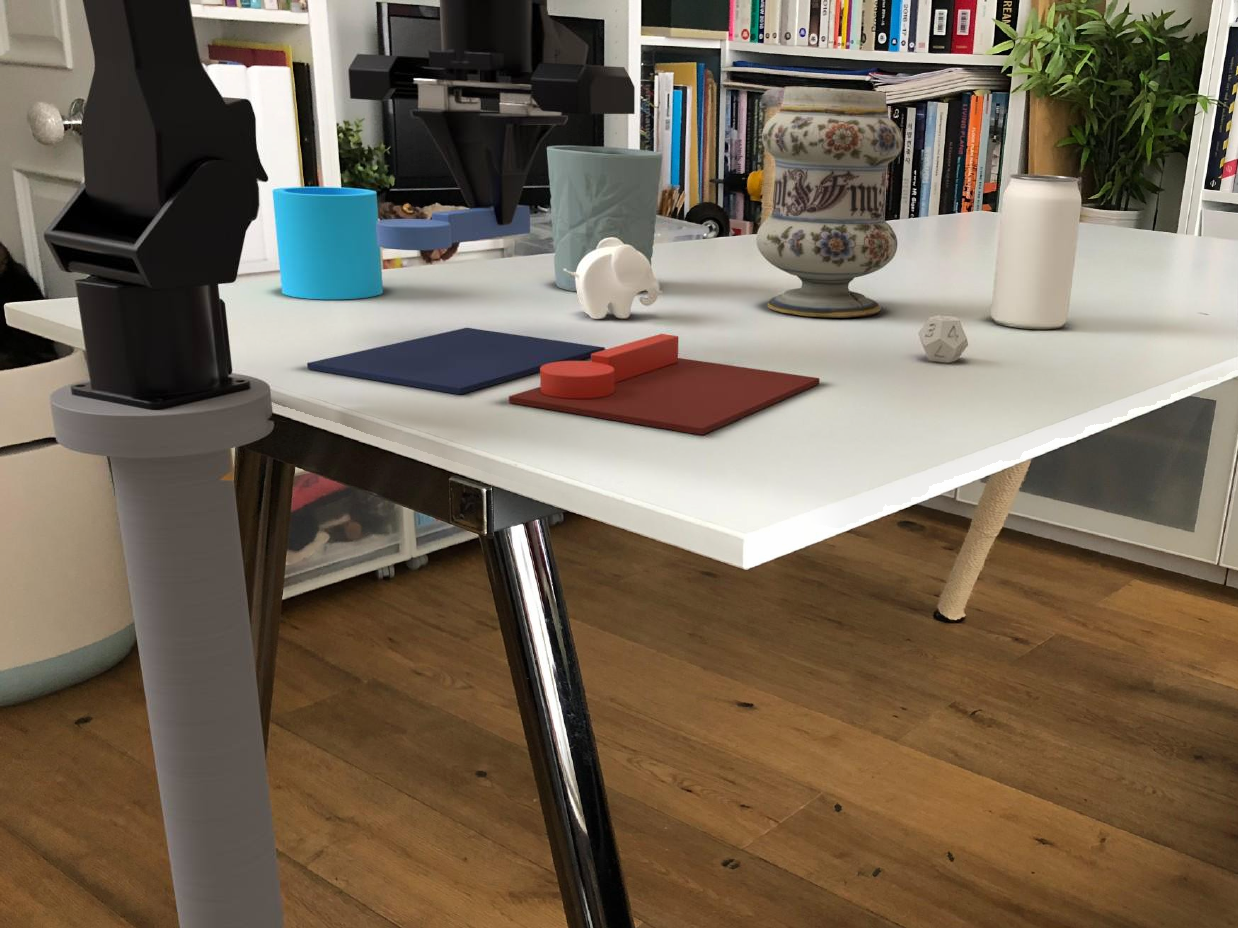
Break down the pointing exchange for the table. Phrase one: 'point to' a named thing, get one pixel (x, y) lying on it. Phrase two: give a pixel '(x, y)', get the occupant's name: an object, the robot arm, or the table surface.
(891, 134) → the apothecary jar
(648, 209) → the green plant pot
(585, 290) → the elephant figurine
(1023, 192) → the can
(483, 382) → the blue mat
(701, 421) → the red mat
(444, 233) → the blue spoon
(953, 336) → the game die
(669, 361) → the red spoon
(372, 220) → the mug
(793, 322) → the table surface
